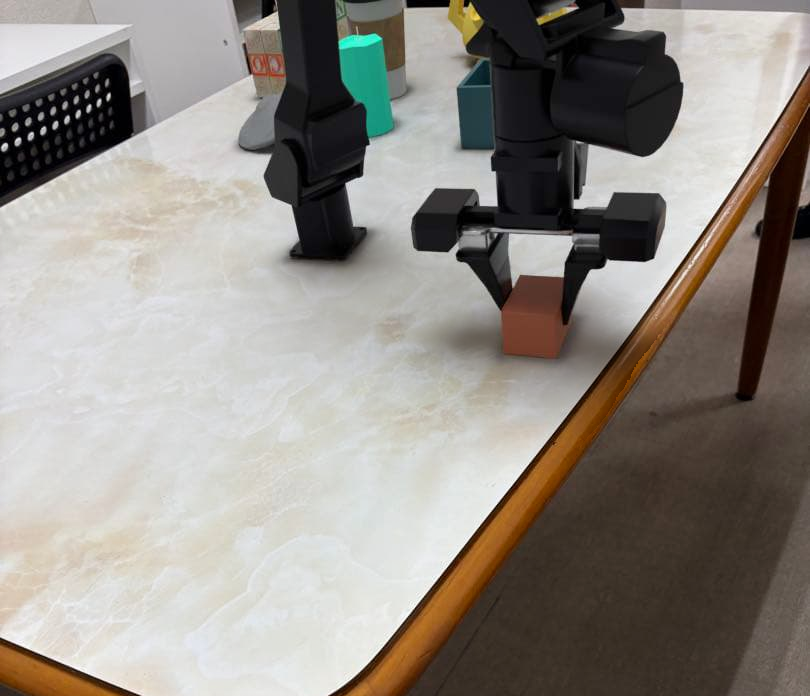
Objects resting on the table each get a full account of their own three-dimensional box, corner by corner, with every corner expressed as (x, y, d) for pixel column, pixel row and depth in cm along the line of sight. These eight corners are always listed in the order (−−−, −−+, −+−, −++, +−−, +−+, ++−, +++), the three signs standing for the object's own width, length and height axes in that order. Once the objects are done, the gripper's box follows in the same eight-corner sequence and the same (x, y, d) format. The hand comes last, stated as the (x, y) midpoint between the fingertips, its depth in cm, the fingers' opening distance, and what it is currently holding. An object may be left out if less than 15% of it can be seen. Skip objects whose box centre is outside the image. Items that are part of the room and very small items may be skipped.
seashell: (321, 117, 119) (251, 111, 120) (316, 76, 114) (244, 71, 115) (299, 165, 112) (226, 158, 114) (294, 123, 108) (218, 117, 109)
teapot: (478, 36, 136) (473, -47, 128) (587, 36, 129) (588, -52, 121) (424, 80, 124) (414, -8, 117) (540, 82, 117) (539, -12, 109)
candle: (389, 135, 110) (374, 32, 102) (344, 138, 112) (327, 36, 103) (398, 118, 115) (385, 17, 106) (355, 121, 116) (339, 21, 108)
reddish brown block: (556, 358, 70) (555, 315, 67) (503, 354, 72) (500, 311, 69) (572, 319, 74) (572, 277, 71) (521, 316, 75) (520, 274, 73)
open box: (549, 85, 96) (568, 55, 102) (456, 87, 99) (480, 58, 106) (550, 149, 101) (568, 117, 107) (461, 149, 104) (484, 118, 111)
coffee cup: (424, 93, 120) (411, -32, 110) (368, 108, 119) (350, -17, 108) (402, 79, 126) (388, -41, 116) (349, 93, 125) (329, -27, 114)
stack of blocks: (291, 100, 126) (271, 5, 117) (257, 99, 128) (234, 5, 120) (363, 52, 138) (349, -38, 130) (330, 52, 141) (315, -36, 132)
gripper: (685, 84, 63) (667, 279, 74) (445, 88, 69) (461, 268, 80) (662, 144, 56) (646, 350, 67) (396, 143, 62) (421, 332, 73)
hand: (538, 320), depth 72 cm, fingers closed on reddish brown block, 4 cm apart
